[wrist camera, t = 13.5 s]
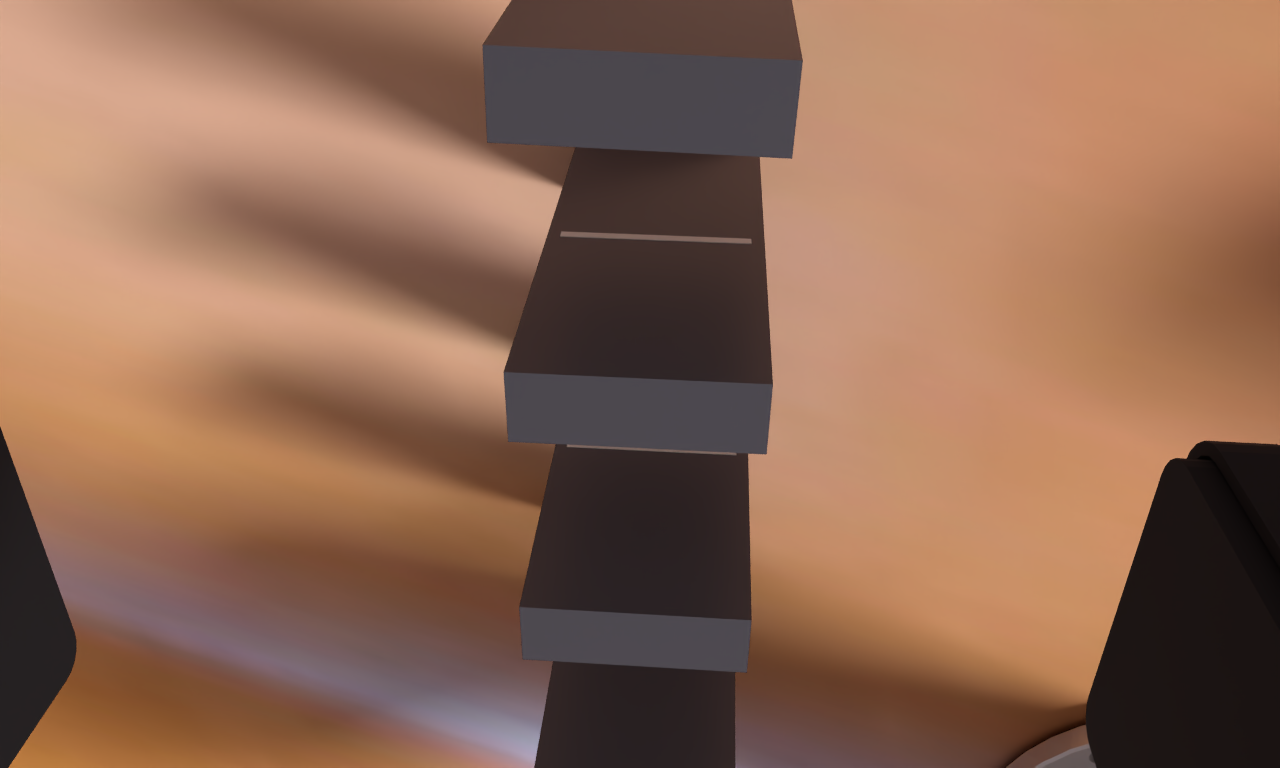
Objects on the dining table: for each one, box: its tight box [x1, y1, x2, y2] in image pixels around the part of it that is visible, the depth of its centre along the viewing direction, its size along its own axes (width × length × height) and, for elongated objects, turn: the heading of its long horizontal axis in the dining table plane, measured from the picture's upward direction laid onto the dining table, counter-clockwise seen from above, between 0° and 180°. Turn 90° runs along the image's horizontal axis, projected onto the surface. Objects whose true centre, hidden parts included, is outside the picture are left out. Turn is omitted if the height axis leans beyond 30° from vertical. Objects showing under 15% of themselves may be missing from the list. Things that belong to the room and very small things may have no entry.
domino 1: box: [483, 0, 803, 159], centre depth 23 cm, size 2×5×12 cm, turn 88°
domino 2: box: [504, 147, 773, 454], centre depth 26 cm, size 2×5×12 cm, turn 89°
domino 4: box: [534, 661, 735, 768], centre depth 33 cm, size 2×5×12 cm, turn 89°
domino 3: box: [519, 444, 751, 673], centre depth 29 cm, size 2×5×12 cm, turn 89°
